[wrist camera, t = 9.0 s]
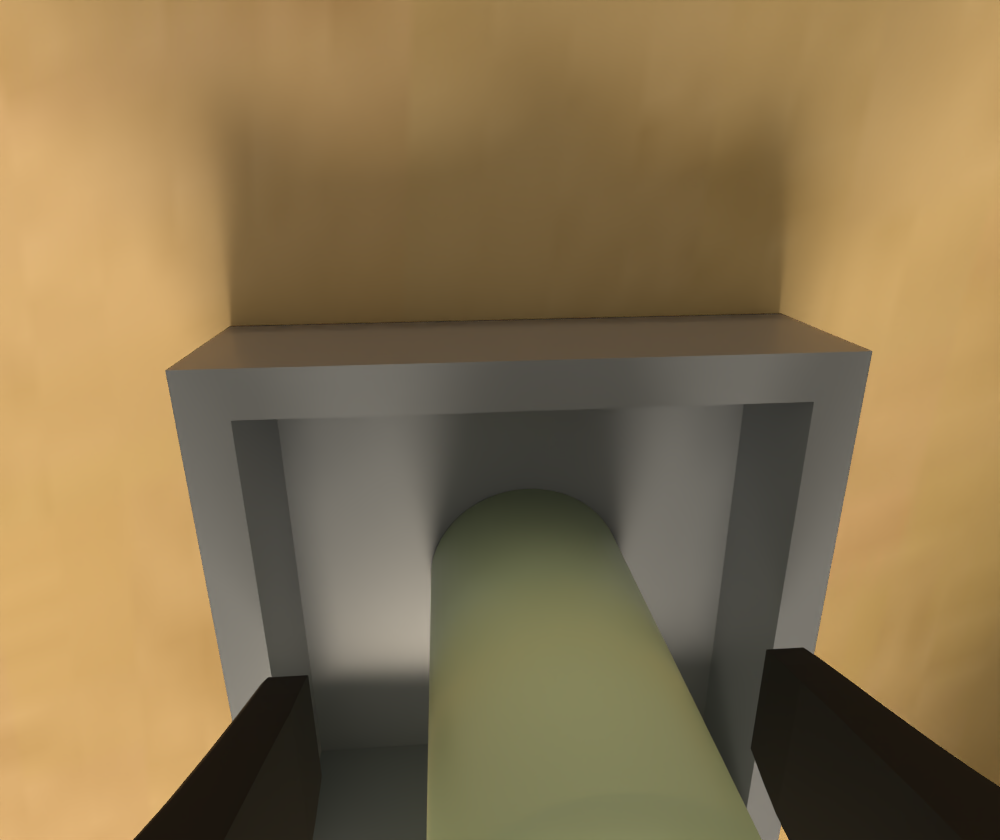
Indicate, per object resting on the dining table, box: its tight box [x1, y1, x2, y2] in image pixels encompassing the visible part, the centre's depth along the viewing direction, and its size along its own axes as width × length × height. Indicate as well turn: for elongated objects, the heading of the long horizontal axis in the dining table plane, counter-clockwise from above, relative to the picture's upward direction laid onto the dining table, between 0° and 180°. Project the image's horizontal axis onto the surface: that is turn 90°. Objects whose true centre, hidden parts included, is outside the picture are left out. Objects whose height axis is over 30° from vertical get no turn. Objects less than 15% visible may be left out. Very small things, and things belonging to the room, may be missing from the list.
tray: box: [165, 314, 872, 840], centre depth 13 cm, size 11×11×3 cm
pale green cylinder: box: [427, 489, 762, 840], centre depth 11 cm, size 4×4×7 cm
